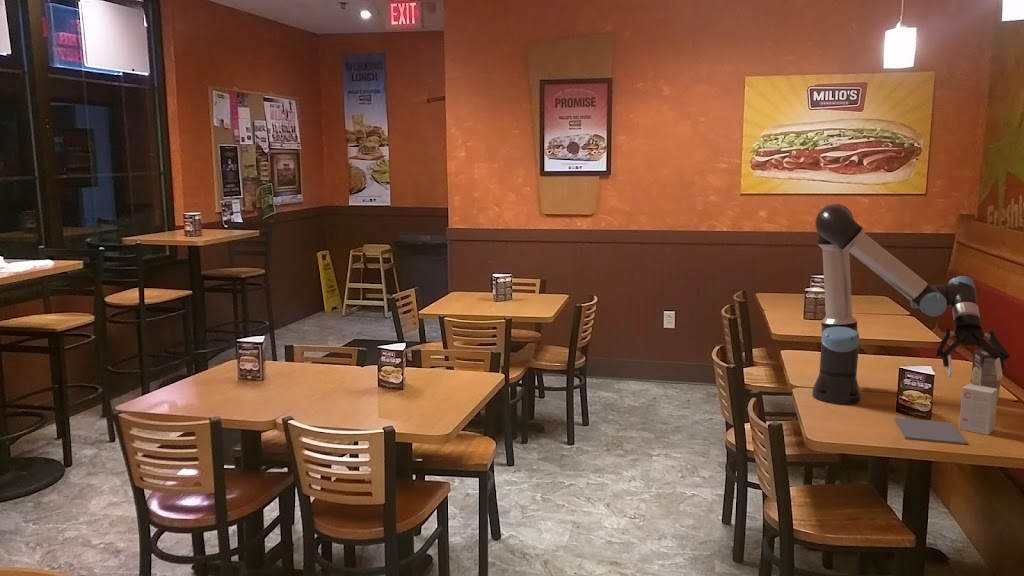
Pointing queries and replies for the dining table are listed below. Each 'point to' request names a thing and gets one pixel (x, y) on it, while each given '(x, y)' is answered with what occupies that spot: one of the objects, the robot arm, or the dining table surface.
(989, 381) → the coffee box
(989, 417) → the small box
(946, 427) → the slate mat
